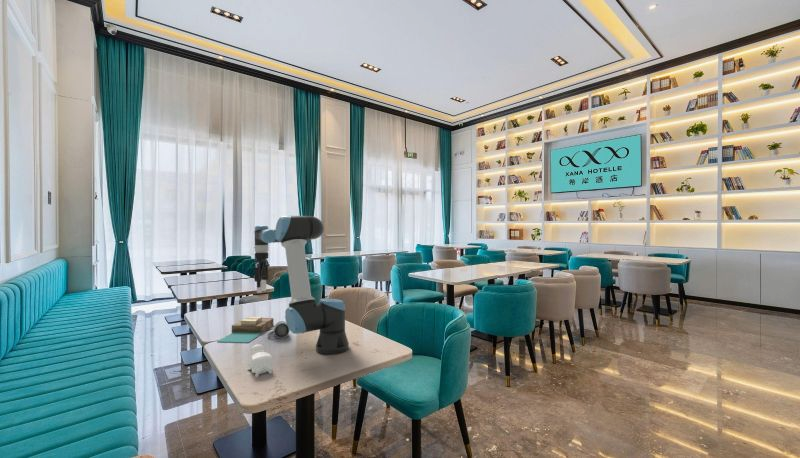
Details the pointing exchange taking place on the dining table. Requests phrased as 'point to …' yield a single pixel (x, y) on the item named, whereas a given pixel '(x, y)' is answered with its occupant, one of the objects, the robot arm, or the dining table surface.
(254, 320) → the oak coaster
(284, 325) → the ceramic mug
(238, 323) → the walnut riser
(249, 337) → the teal mat
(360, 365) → the dining table surface
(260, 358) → the white animal figurine
